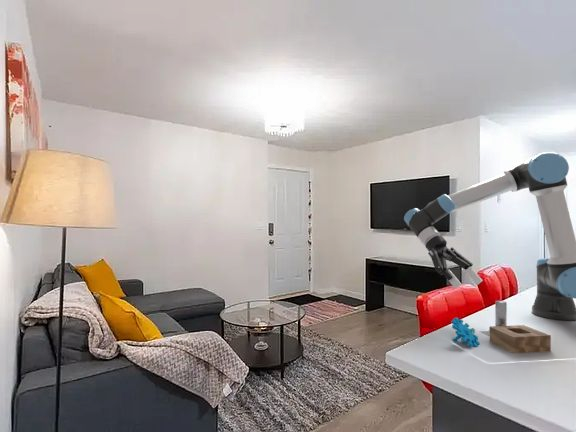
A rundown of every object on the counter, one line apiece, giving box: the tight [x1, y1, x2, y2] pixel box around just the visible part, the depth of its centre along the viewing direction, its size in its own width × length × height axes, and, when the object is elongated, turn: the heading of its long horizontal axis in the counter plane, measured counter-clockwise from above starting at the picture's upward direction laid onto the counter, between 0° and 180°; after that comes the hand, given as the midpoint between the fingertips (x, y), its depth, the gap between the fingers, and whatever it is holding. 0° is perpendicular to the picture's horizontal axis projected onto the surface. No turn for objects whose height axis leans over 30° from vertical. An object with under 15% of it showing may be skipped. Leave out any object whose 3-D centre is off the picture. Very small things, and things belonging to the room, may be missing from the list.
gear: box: [451, 317, 480, 348], centre depth 111 cm, size 11×6×10 cm
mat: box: [479, 330, 490, 338], centre depth 117 cm, size 10×8×1 cm
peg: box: [494, 300, 508, 326], centre depth 117 cm, size 3×3×11 cm
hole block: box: [489, 324, 552, 354], centre depth 107 cm, size 12×10×5 cm
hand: (469, 284), depth 126 cm, fingers open, 13 cm apart
